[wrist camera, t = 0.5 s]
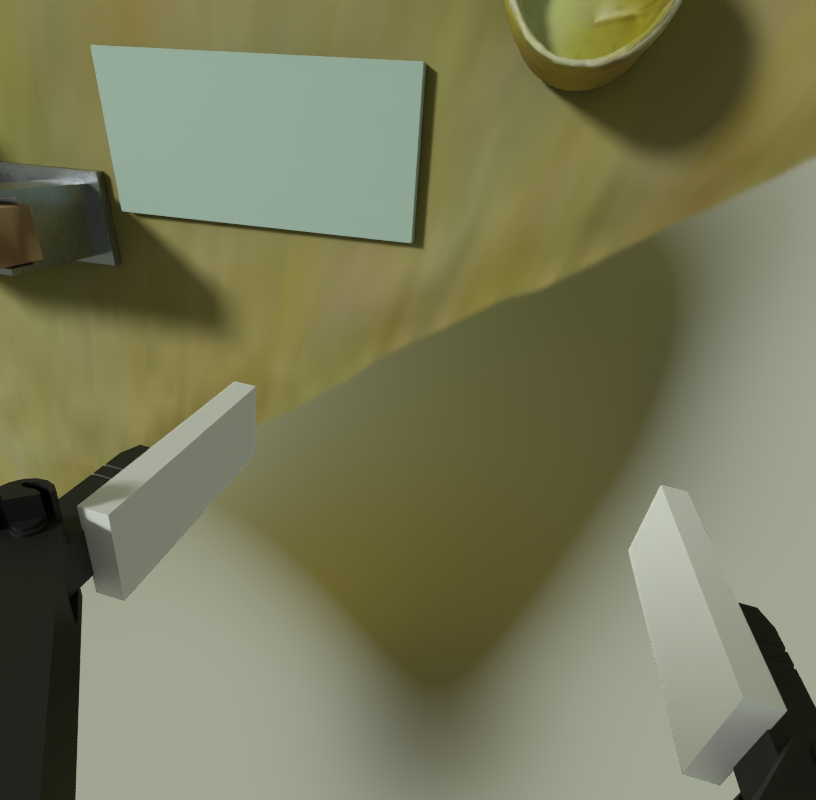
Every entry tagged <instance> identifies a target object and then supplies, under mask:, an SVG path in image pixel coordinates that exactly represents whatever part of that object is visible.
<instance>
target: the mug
mask: <svg viewBox="0 0 816 800" xmlns="http://www.w3.org/2000/svg"><path fill="white" fill-rule="evenodd" d="M504 1H505V7H506V13H507V17H508V21H509V25H510V28H511V32H512V34H513V37H514V39H515V41H516V44H517V46H518V48H519V50H520V53H521V55H522V57H523V59H524V61H525V63H526V64H527V65H528V67H529V68H530V69H531V71H532V72H533V73H534V74H535V75H536V76H537V77H539V78H540V79H541V80H542V81H544V82H545V83H546V84H548V85H550V86H552V87H555V88H557V89H561V90H566V91H584V90H589V89H595V88H598V87H601V86H604V85H606V84H608V83H609V82H611V81H613V80H615V79H616V78H618V77H619V76H621V75H622V74H624V73H625V72H626V71H627V70H629V69H630V68H631V67H632V66H633V64H634V63H635V62H636V61H637V59H638V58H639V57H640V56H641V55H642V54H643V53H644V52H645V51H646V50H647V49H648V48H649V47H650V46H651V45H652V44H653V43H654V42H655V40H656V39H657V38H658V37H659V36H660V35H661V34H662V33H663V31H664V30H665V28H666V27H667V26H668V24H669V23H670V21H671V20H672V18H673V16H674V15H675V13H676V12H677V10H678V8H679V7H680V5H681V3H682V1H683V0H504Z"/></svg>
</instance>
